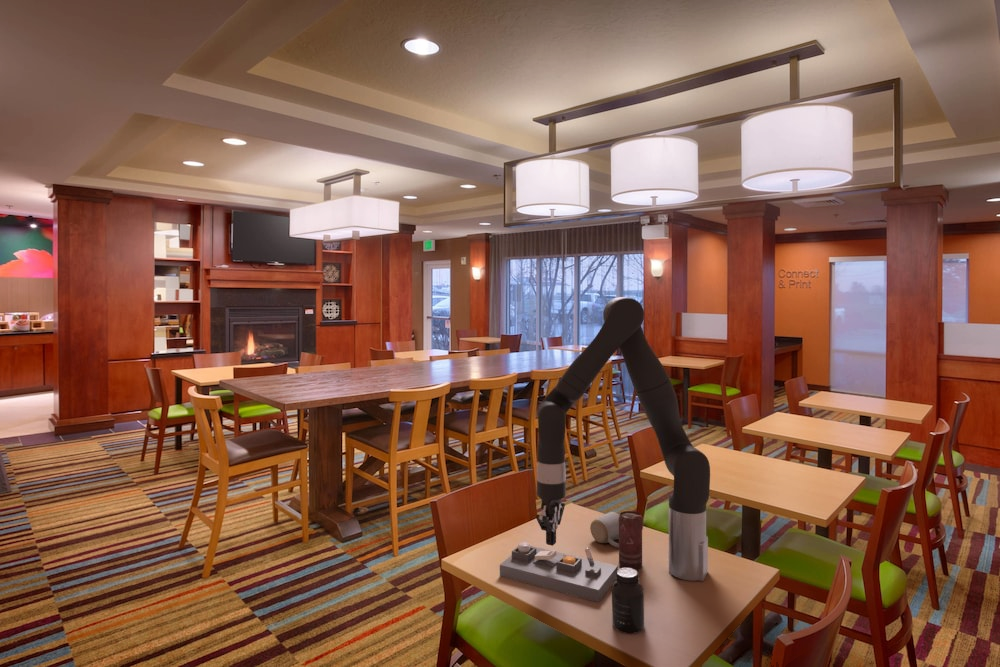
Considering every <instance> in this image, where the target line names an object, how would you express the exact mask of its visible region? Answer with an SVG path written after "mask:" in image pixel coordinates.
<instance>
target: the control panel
mask: <svg viewBox="0 0 1000 667" xmlns="http://www.w3.org/2000/svg"><path fill="white" fill-rule="evenodd" d="M540 551H552V550H550V549H546V548H541V547H538V546H532V545H530V552H529V553H528V554H525V553H521V552H518V546H517V547H515V548H514V549H513V550H512V551H511V555H510V556H508V557H507V559H505V560H504V561H503V562H501V563H500V564H499V576H500V577H502V576H503V577H502V578H506V579H509V578H510V580H513V579H514V581H517V582H521V583H525V584H528V585H532V586H536V587H538V588H539V587H540V588H543V589H547V590H551V591H555V592H558V593H563V594H567V595H569V596H570V595H571V596H574V597H577V598H581V599H585V600H589V601H593V602H596V603H599V602H601V600H602V598H603V597H604V596H605V595H606V593H607V592H608V591H609V590H610V588H612V585H613V583H614V582H615V581H616V571H617V570H618V569H619V568H618V567H619V566H618V565H616V564H611V563H608V562H602V561H598V560H594V559H593V561H594V564H595V565H594V567H591V566H590V564H589V561H588V558H587V557H586V558H585V557H581V556H576V555H572V554H568V553H562V552H558V551H556V553H557V555H556V556H555V557H553V558H552V559H544V560H535V555H536V554H537V553H539V552H540ZM565 556H572V557H574V558H575V564H574V565H571V564H567V563H563V557H565Z"/></svg>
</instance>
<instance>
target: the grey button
mask: <svg viewBox="0 0 1000 667" xmlns="http://www.w3.org/2000/svg"><path fill="white" fill-rule="evenodd" d="M530 546H531V543H529V542H519V543H518V544H517V547H518V552H521V553H525V554H528V553H529V552H530Z"/></svg>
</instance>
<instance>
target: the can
mask: <svg viewBox="0 0 1000 667" xmlns="http://www.w3.org/2000/svg"><path fill="white" fill-rule="evenodd" d="M643 529H644V518H643V516H642V515H641V514H640V513H639V512H637V511H633V510H632V511H631V510H626V511H622V512H620V513H619V539H618V543H619V548H618V564H619V565H620V568H623V567H628V568H632V569H635V570H637V571H638V570H640V569H641V568H642V567H643Z"/></svg>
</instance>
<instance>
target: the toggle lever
mask: <svg viewBox="0 0 1000 667" xmlns="http://www.w3.org/2000/svg"><path fill="white" fill-rule="evenodd" d="M584 552H585V555H586V559H588V561H589V564H590V566H591V567H594V565H595V564H594V561H595V560H594V558H593V556H592V553H591V550H590V548H589V547H586V548H585V549H584ZM593 560H594V561H593Z"/></svg>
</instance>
